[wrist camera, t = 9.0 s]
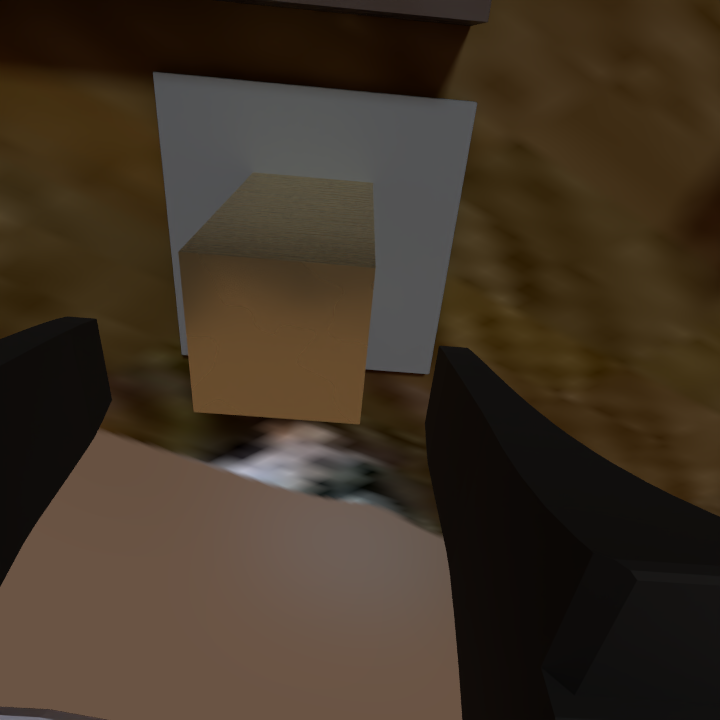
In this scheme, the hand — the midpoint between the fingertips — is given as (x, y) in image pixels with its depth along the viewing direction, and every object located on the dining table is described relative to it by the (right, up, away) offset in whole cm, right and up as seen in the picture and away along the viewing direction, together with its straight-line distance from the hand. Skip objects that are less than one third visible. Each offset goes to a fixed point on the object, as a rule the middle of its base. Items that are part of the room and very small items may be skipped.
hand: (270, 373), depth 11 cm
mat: (0, +5, +8) cm, 9 cm away
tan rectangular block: (0, +5, +7) cm, 9 cm away
